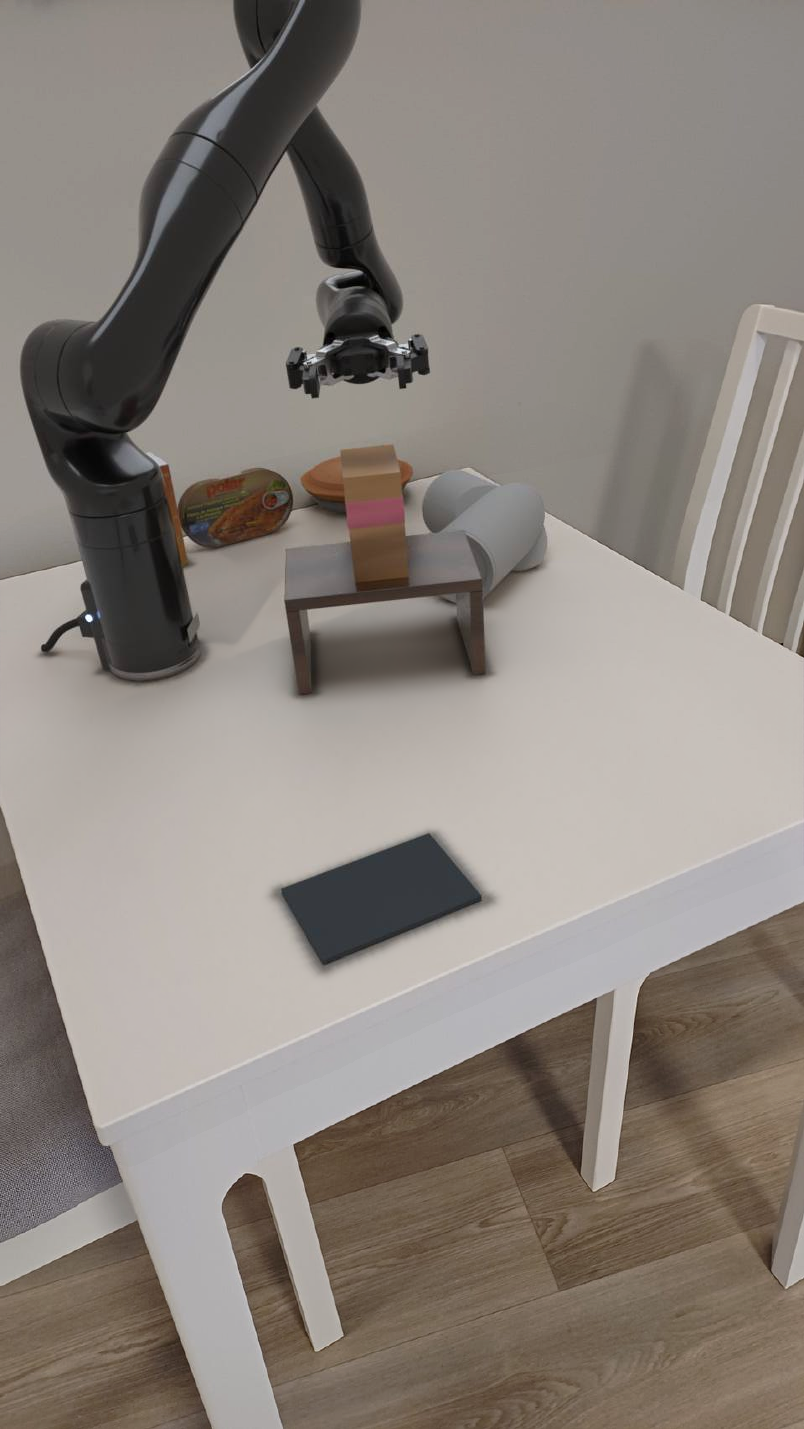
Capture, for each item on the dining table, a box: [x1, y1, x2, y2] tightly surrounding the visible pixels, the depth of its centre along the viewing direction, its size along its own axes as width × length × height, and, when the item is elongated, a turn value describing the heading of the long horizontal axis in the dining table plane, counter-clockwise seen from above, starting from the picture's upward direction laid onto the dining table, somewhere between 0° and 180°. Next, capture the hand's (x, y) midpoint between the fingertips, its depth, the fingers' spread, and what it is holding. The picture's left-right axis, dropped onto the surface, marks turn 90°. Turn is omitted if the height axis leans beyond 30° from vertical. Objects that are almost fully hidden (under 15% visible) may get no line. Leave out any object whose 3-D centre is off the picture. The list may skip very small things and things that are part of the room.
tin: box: [177, 467, 294, 549], centre depth 127 cm, size 15×3×8 cm, turn 117°
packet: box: [339, 443, 409, 583], centre depth 92 cm, size 8×5×10 cm, turn 5°
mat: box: [280, 832, 483, 965], centre depth 70 cm, size 12×8×1 cm, turn 116°
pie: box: [300, 455, 414, 515], centre depth 136 cm, size 16×16×5 cm
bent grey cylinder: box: [421, 469, 548, 604], centre depth 113 cm, size 18×11×20 cm
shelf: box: [283, 530, 487, 695], centre depth 97 cm, size 12×18×10 cm, turn 95°
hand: (357, 383), depth 95 cm, fingers open, 8 cm apart
